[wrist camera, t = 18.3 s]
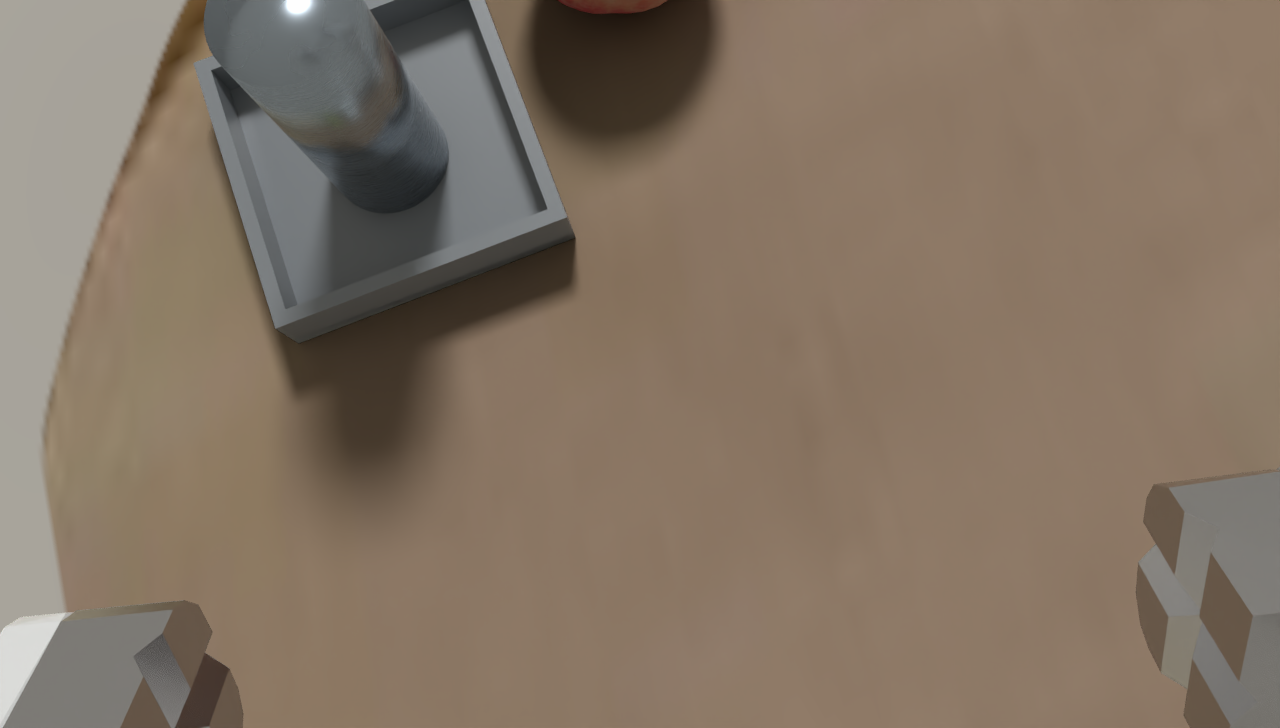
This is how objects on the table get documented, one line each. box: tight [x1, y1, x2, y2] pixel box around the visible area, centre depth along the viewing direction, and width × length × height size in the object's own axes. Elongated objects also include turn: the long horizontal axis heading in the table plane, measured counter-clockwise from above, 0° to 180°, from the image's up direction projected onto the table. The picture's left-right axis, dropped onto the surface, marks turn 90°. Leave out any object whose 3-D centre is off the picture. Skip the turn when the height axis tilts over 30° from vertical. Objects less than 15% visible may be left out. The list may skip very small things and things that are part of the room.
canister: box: [204, 0, 449, 213], centre depth 43 cm, size 5×5×12 cm
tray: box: [194, 0, 576, 343], centre depth 48 cm, size 12×12×2 cm
